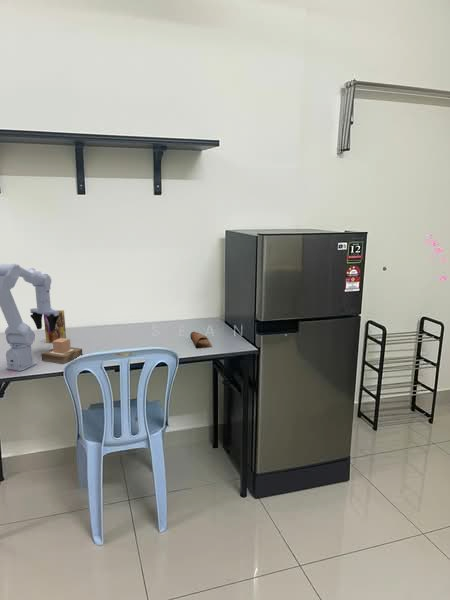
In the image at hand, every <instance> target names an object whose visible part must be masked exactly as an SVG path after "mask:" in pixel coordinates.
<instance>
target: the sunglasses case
mask: <svg viewBox="0 0 450 600" xmlns="http://www.w3.org/2000/svg"><path fill="white" fill-rule="evenodd" d="M189 337H190V339H191V340H192V342H193V344H194V346H195V348H196V349H208V348H213V345H212V343H211V342H210V340H209V339H208V337H207V336H206V335H204V334H201V332H200V333H199V332H197V331H192V332H191V333H190V336H189Z"/></svg>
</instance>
